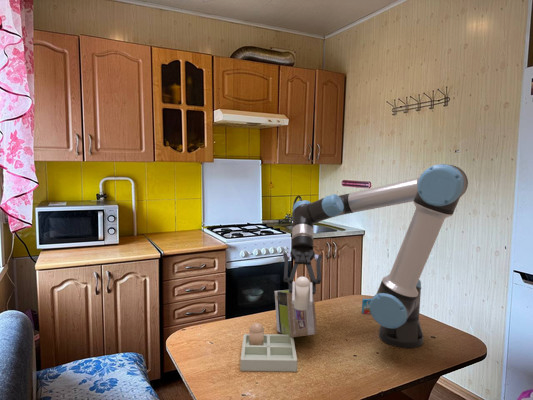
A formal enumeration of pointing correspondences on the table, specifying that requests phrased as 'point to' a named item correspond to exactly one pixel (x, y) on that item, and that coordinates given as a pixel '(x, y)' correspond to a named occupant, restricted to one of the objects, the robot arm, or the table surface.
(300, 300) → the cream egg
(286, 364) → the carton
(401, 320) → the robot arm
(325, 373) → the table surface
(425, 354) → the table surface
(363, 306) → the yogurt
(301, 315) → the tea box
